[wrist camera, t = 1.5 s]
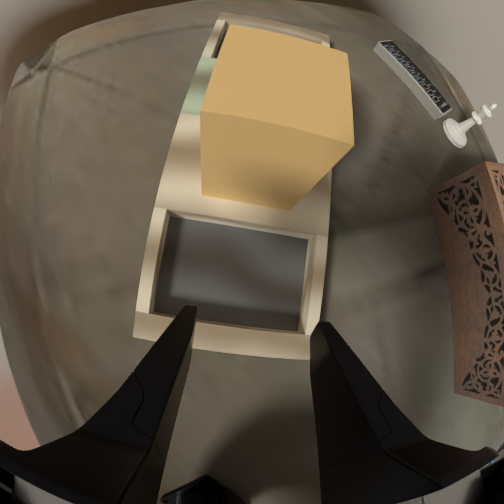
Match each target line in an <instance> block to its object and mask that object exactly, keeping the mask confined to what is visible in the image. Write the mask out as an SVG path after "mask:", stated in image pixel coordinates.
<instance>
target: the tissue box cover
mask: <svg viewBox="0 0 504 504" xmlns="http://www.w3.org/2000/svg"><path fill="white" fill-rule="evenodd" d="M427 193H428V196H429V199H430V203H431V206H432V210H433V214H434V218H435V222H436V226H437V230H438V234H439V238H440V243H441V248H442V253H443V258H444V263H445V269H446V275H447V281H448V288H449V295H450V304H451V313H452V324H453V340H454V393H457V394H460V395H463V396H467V397H470V398H474V399H477V400H481V401H485V402H488V403H492V404H496V405H500V406H504V164H502V163H495V162H487V161H484V162H482V163H480V164H478V165H476V166H474V167H472V168H470V169H469V170H467V171H465V172H463V173H461V174H459V175H457V176H455V177H453V178H451V179H449V180H447V181H445V182H443V183H441V184H439V185H437V186H435V187H433V188H431V189H429V190H427Z"/></svg>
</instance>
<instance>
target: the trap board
mask: <svg viewBox="0 0 504 504" xmlns="http://www.w3.org/2000/svg"><path fill="white" fill-rule="evenodd" d="M230 24H231V25H238V26H244V27H250V28H256V29H261V30H266V31H271V32H276V33H280V34H284V35H289V36H292V37H296V38H300V39H304V40H307V41H311V42H314V43H318V44H321V45H324V46H327V47H330V43H329V36H328V35H325V34H321V33H318V32H315V31H312V30H308V29H305V28H301V27H297V26H293V25H289V24H285V23H281V22H276V21H272V20H267V19H262V18H257V17H251V16H245V15H238V14H231V13H223V12H221V13H220V15H219V17H218V20H217V22H216V24H215V26H214V28H213V31H212V33H211V35H210V37H209V40H208V42H207V44H206V47H205V49H204V51H203V54H202V56H201V59H200V61H199V64H198V66H197V69H196V71H195V74H194V77H193V79H192V82H191V85H190V87H189V90H188V93H187V96H186V99H185V101H184V104H183V107H182V110H181V113H180V116H179V119H178V122H177V126H176V129H175V132H174V135H173V139H172V142H171V145H170V149H169V152H168V156H167V159H166V163H165V166H164V170H163V174H162V178H161V182H160V185H159V189H158V194H157V198H156V202H155V206H154V211H153V215H152V220H151V224H150V229H149V234H148V239H147V244H146V249H145V255H144V260H143V266H142V272H141V278H140V285H139V291H138V298H137V306H136V313H135V322H134V331H133V337H136V338H140V339H145V340H150V341H155V342H156V341H157V340H158V339H159V337H160V336H161V335H162V333H163V332H164V331H165V330H166V328H167V327H168V326H169V324H170V323H171V322H172V321H173V319H174V318H175V317H176V316H177V314H178V313H179V312H180V310H181V309H182V308H183V307H184V305H186V304H191V305H196V306H197V317H196V325H195V333H194V340H193V347H192V348H196V349H203V350H210V351H217V352H225V353H233V354H242V355H251V356H262V357H273V358H287V359H304V360H310V336H311V333H312V332H313V330H314V328H315V326H316V325H317V323H318V322H319V319H320V311H321V303H322V295H323V286H324V277H325V267H326V256H327V244H328V232H329V217H330V200H331V177H332V168H331V169H330V170H329V171H328V172H327V173H326V174H325V175H324V176H323V177H322V178H321V179H320V180H319V181H318V183H317V184H316V185H315V186H314V187H313V188H312V189H311V190H310V191H309V192H308V193H307V194H306V195H305V196H304V197H303V198H302V199H301V200H300V201H299V202H298V203H297V204H296V205H295V206H294V207H293V208H292V209H291V210H290V211H286V210H281V209H276V208H271V207H265V206H260V205H255V204H249V203H243V202H238V201H232V200H226V199H220V198H214V197H208V196H202V189H201V150H200V110H201V106H202V103H203V100H204V97H205V93H206V90H207V87H208V84H209V81H210V78H211V75H212V72H213V69H214V66H215V63H216V60H217V57H218V55H219V52H220V49H221V46H222V44H223V41H224V38H225V36H226V33H227V30H228V28H229V25H230Z"/></svg>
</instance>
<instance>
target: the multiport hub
mask: <svg viewBox="0 0 504 504" xmlns="http://www.w3.org/2000/svg"><path fill="white" fill-rule="evenodd" d="M373 50H374V52H376V53H377V54H378V55H379V56H380V57H381V58H382V59H383V60H384V61H385V62H386V63H387V64H388V65H389V67H390V68H391V69H392V70H393V71H394V72H395V73H396V74H397V75H398V76H399V77H400V78H401V79H402V81H403V82H404V83H405V84H406V85H407V86H408V87H409V89H410V90H411V91H412V92H413V93H414V94H415V96H416V97H417V98H418V99H419V100H420V102H421V103H422V104H423V105H424V107H425V108H426V109H427V111H428V112H429V113H430V115H431V116H432V117H433V119H434V120H438V119H439V118H441V117H442V116H444V115H445V114H447V113H448V112H449V111H451V110H452V107H451V106H450V105H449V103H448V102H447V101H446V99H445V98H444V97H443V95H442V94H441V93H440V92H439V90H438V89H437V88H436V87H435V86H434V84H433V83H432V82H431V81H430V80H429V78H428V77H427V76H426V75H425V74H424V73H423V72H422V71H421V69H420V68H419V67H418V66H417V65H416V64H415V63H414V62H413V61H412V60H411V59H410V58H409V57H408V56H407V55H406V54H405V53H404V51H403V50H401V49H400V48H399V47H398V46H397V45H396V44H395V43H394V42H393V41H392V40H387V41H379V42H378V43H377V44H376V46H375V47H374V49H373Z"/></svg>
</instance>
